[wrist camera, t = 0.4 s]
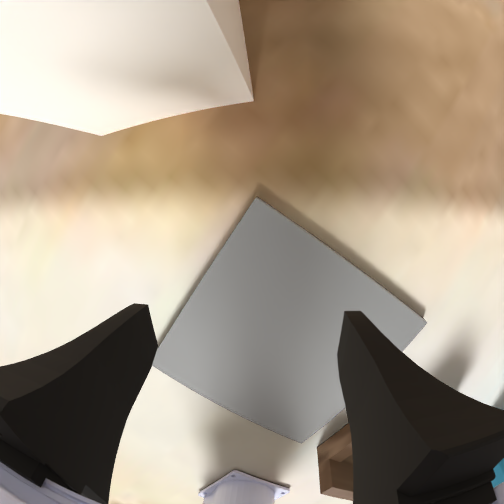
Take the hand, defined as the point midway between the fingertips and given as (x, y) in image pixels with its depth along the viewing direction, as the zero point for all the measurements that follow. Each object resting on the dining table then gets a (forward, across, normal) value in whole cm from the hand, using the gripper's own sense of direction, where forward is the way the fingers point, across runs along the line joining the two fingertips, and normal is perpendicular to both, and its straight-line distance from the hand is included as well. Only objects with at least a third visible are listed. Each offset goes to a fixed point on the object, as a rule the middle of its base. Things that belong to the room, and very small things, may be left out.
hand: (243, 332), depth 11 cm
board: (+9, -2, +8) cm, 13 cm away
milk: (+13, +7, -14) cm, 20 cm away
